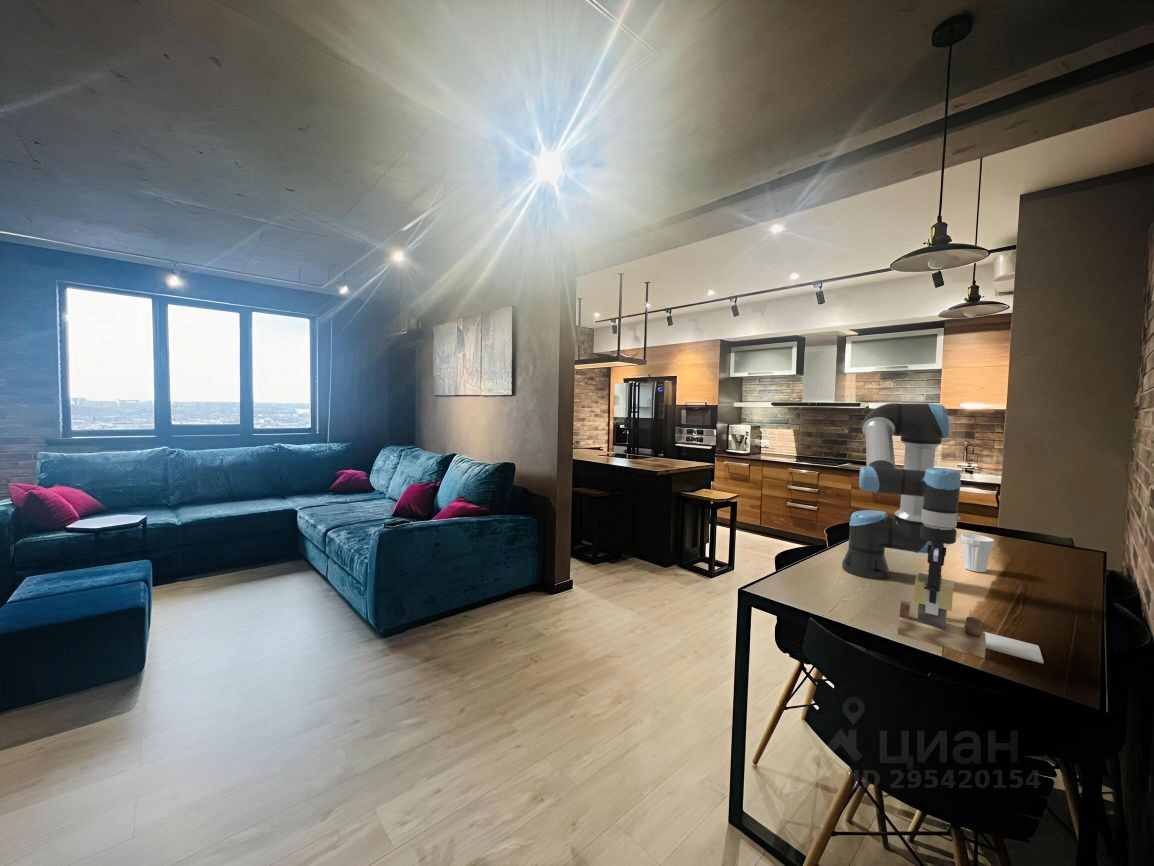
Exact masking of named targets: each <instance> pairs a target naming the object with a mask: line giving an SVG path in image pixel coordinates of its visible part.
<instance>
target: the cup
mask: <svg viewBox="0 0 1154 866" xmlns="http://www.w3.org/2000/svg"><path fill="white" fill-rule="evenodd" d="M960 540H961V546H962V556H963V557H962V558H963V565H964V569H965V570H969V571H973V572H975V573H976V572H977V573H985V572H986V570H987V567H988V564H989V560H990V557H991V553H992V550H993V547H994V545H995V539H994V538H991V537H989V536H985V535H979V534H974V533H973V534H972V533H971V534H970V533H962V534H961V535H960Z"/></svg>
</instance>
